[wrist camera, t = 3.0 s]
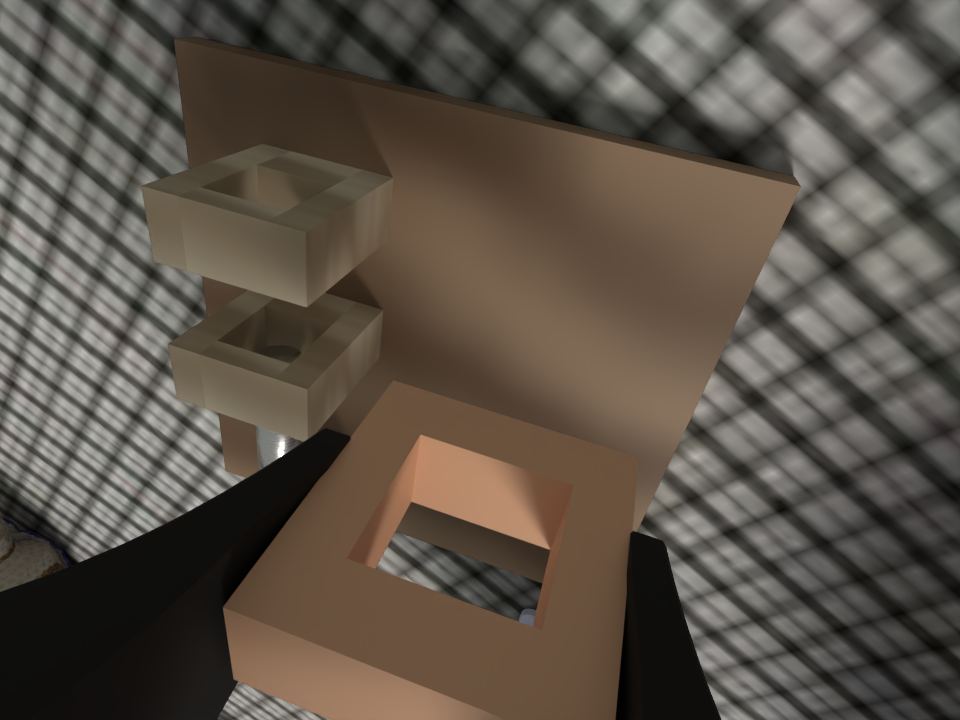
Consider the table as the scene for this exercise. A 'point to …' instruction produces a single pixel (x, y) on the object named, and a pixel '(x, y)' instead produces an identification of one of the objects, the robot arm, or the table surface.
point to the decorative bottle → (26, 556)
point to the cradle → (447, 266)
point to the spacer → (427, 613)
